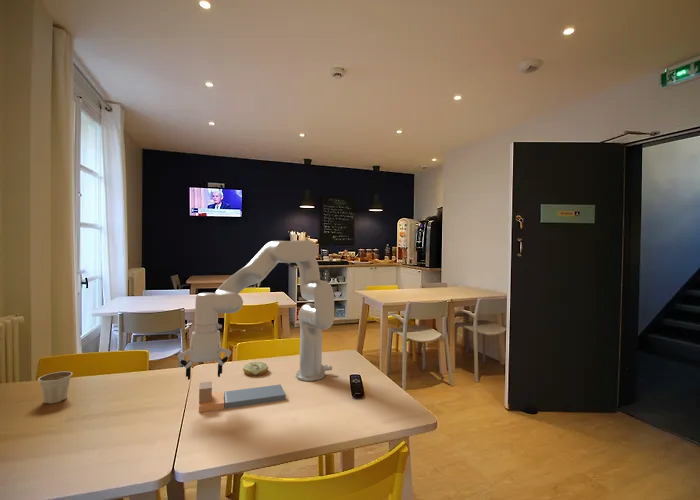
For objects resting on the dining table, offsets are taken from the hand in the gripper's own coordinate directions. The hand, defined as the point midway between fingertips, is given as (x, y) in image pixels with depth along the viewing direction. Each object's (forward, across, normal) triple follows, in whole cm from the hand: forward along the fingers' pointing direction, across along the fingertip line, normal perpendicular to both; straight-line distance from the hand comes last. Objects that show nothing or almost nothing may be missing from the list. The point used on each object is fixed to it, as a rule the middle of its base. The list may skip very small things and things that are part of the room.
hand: (204, 377), depth 122 cm
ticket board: (+10, -18, 0) cm, 20 cm away
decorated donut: (+10, -21, -27) cm, 36 cm away
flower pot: (+11, +49, -22) cm, 55 cm away
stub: (+10, -3, 0) cm, 10 cm away
